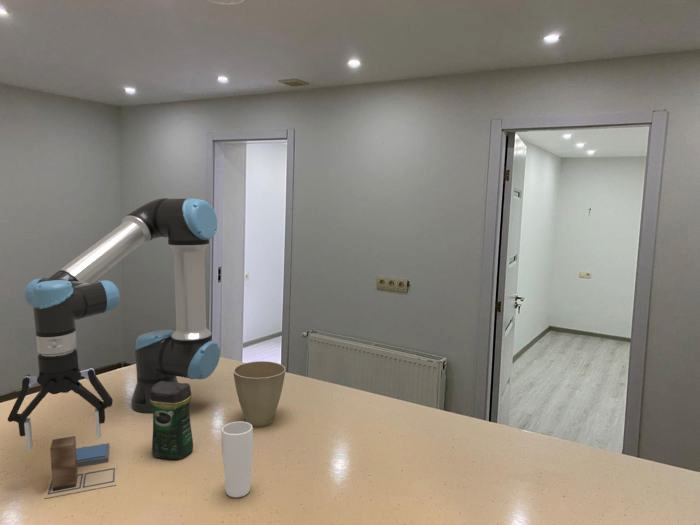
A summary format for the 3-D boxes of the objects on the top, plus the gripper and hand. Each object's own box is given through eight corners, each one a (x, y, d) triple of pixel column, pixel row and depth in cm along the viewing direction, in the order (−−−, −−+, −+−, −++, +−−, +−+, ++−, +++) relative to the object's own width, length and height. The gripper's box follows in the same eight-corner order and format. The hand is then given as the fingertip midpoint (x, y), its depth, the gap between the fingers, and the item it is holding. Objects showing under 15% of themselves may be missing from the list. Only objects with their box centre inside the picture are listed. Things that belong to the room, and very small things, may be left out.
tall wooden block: (77, 476, 118) (75, 435, 117) (75, 486, 114) (73, 444, 112) (55, 481, 116) (52, 439, 115) (52, 491, 112) (50, 448, 111)
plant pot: (240, 436, 139) (239, 380, 137) (229, 415, 153) (228, 364, 151) (292, 427, 145) (292, 373, 143) (277, 408, 159) (277, 358, 157)
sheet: (117, 466, 123) (116, 464, 123) (116, 485, 115) (116, 483, 115) (50, 478, 117) (50, 476, 117) (44, 499, 109) (44, 497, 109)
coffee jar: (198, 447, 133) (196, 379, 130) (181, 462, 125) (179, 390, 123) (165, 443, 135) (162, 375, 133) (146, 457, 127) (144, 386, 125)
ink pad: (109, 447, 132) (109, 442, 132) (108, 462, 125) (108, 456, 125) (65, 454, 128) (65, 449, 128) (62, 470, 121) (61, 464, 121)
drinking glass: (225, 484, 116) (224, 421, 114) (255, 483, 116) (254, 420, 115) (220, 501, 109) (218, 435, 107) (251, 500, 110) (251, 434, 108)
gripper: (-16, 364, 103) (-5, 462, 106) (119, 349, 112) (125, 439, 116) (-7, 353, 110) (3, 445, 113) (120, 340, 119) (125, 425, 122)
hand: (65, 442), depth 114 cm, fingers open, 13 cm apart
